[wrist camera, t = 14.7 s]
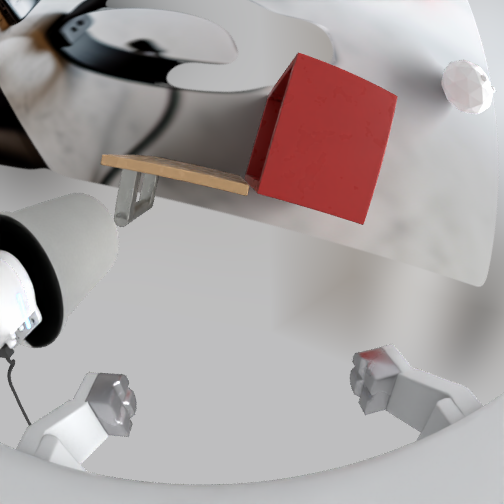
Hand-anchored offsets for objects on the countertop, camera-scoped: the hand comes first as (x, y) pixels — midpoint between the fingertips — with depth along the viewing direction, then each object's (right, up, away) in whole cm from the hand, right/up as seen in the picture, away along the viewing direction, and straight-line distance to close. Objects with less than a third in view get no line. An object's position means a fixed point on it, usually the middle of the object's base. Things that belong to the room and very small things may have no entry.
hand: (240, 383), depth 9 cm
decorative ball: (+33, +33, +23) cm, 52 cm away
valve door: (-7, +13, +26) cm, 30 cm away
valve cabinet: (+5, +18, +25) cm, 31 cm away
